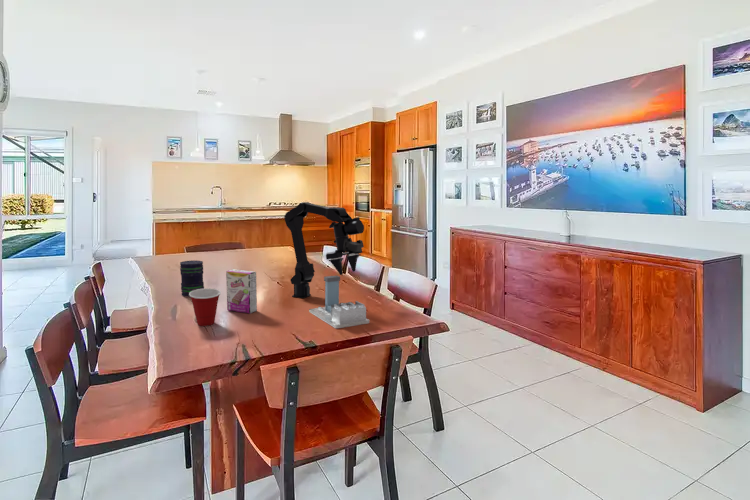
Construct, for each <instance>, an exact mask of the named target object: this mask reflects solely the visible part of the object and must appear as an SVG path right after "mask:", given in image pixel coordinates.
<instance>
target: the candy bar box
mask: <svg viewBox="0 0 750 500" xmlns="http://www.w3.org/2000/svg"><path fill="white" fill-rule="evenodd" d="M225 275H226V277H225V278H226V305H227V307H226V308H227V311H229V312H235V313H236V312H237V313H243V314H244V313H245V314H253V313H254V312H257V310H258V300H257V292H258V291H257V271H253V270H243V269H234V268H233V269H229V270H226V274H225Z"/></svg>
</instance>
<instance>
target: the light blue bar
mask: <svg viewBox="0 0 750 500" xmlns="http://www.w3.org/2000/svg"><path fill="white" fill-rule="evenodd" d="M323 281H324V282H325V283H324V284H325V285H324V286H325V287H324V288H325V290H324V292H325V293H324V299H325V300H324V301H325V302H324V304H325V305H324V307H325V309H326V310H327V311H329V312H331V305H333V304H340V298H339V297H340V281H341V276H339V275H328V276H324V277H323Z"/></svg>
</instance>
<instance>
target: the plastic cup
mask: <svg viewBox="0 0 750 500" xmlns="http://www.w3.org/2000/svg"><path fill="white" fill-rule="evenodd" d="M221 292H222V291H221V290H220V289H217V288H208V287H207V288H205V287H204V289H197V290H193V291H191V292H189V296H190V297H189V298H190V300H191V303H192V307H193V311H194V316H195V319H196V323H197V326H200V327H205V326H206V327H208V326H212V325H214V324H215V321H216V314H217V310H218V303H219V299H220V295H221ZM207 325H208V326H207Z"/></svg>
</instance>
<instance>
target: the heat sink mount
mask: <svg viewBox="0 0 750 500" xmlns="http://www.w3.org/2000/svg"><path fill="white" fill-rule="evenodd" d="M308 310H309V311H308V312H309V313H310V314H312V315H314V316H315V317H316V318H318V319H320V320H321V321H323V322H325V323H326V324H328V325H330V326H331V327H332V328H334V329H343V328H349V327H354V326H361V325H366V324H370V319H369V318H367V307H366V306H365V303H362V302H359V301H358V300H355V301H354V302H352V301H348V302H341V303H340V302H339V304H333V305H331V312H329V311H327V310H326V309H325V306H323V307H321V306H318V307H315V308H309V309H308Z"/></svg>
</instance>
